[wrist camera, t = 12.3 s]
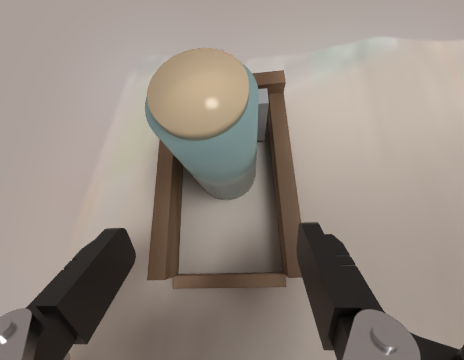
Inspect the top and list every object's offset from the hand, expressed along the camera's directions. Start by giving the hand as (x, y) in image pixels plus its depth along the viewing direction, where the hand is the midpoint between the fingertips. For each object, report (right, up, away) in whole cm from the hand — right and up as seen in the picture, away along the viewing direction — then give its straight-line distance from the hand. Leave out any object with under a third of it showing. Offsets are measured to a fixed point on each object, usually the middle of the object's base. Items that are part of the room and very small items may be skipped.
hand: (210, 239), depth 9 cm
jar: (+1, +3, +8) cm, 9 cm away
